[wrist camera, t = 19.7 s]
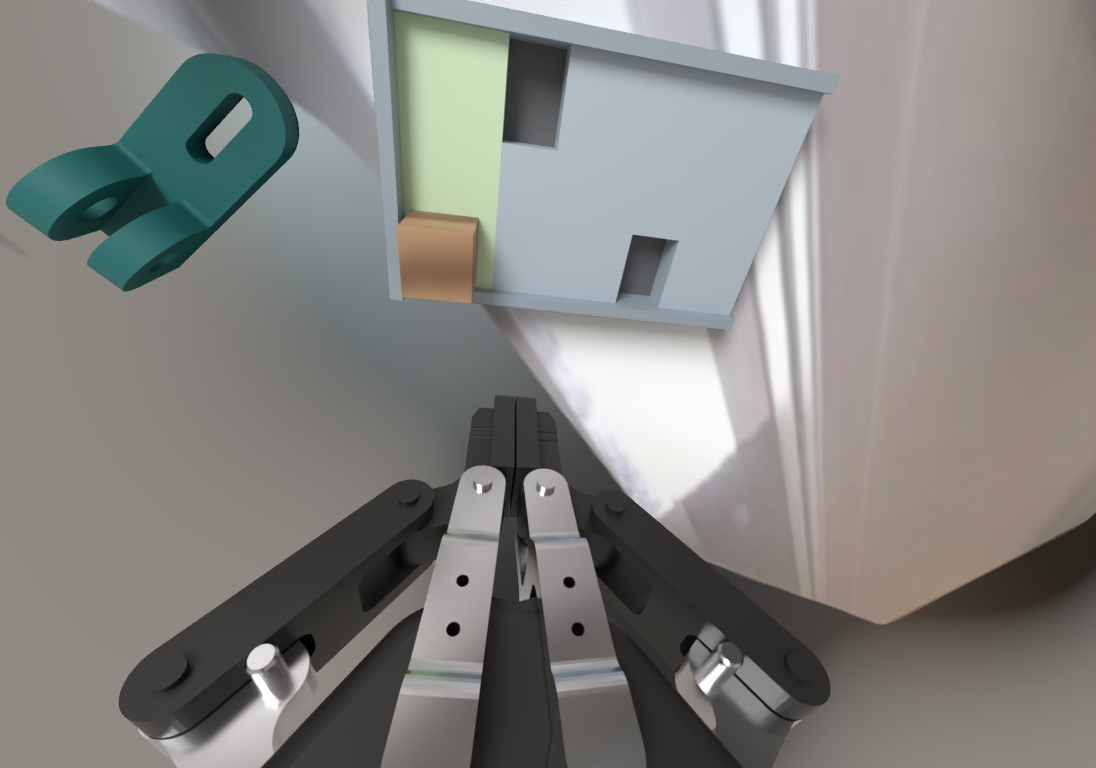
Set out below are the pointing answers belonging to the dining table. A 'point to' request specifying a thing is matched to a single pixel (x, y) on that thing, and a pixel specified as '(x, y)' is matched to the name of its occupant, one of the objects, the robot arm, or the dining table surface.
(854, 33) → the dining table surface
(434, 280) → the block
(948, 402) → the dining table surface
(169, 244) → the bracket
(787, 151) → the tray
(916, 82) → the dining table surface
